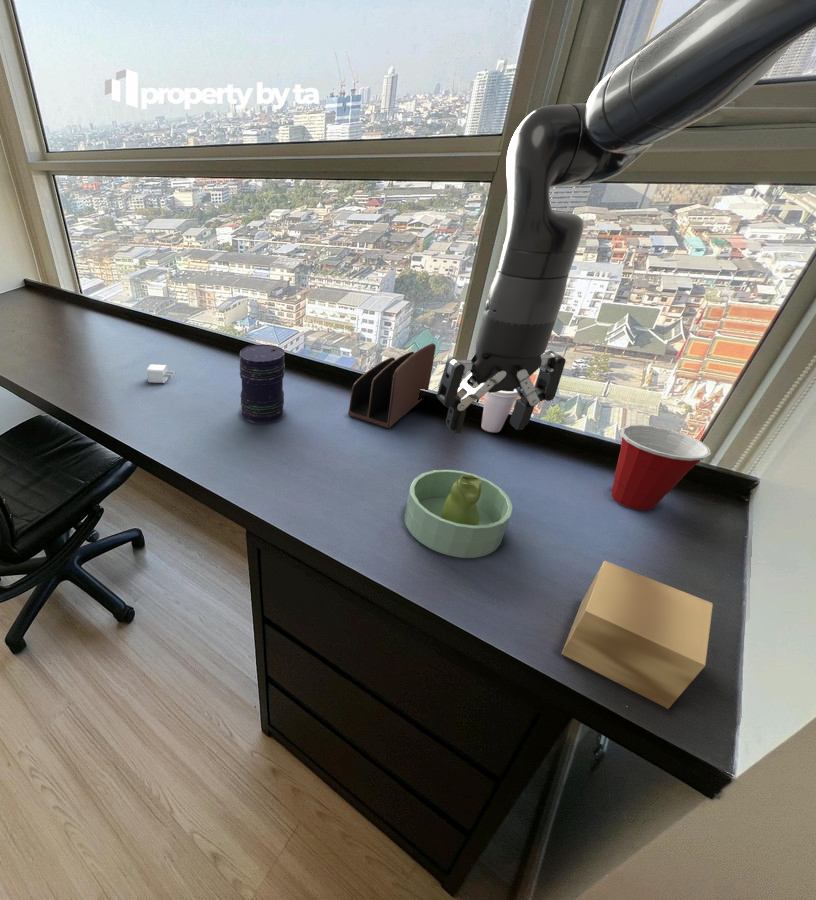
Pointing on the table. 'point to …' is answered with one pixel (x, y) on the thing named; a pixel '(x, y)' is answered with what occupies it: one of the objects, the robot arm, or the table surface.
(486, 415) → the smoothie
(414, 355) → the letter holder
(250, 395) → the dark blue canister
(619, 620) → the block
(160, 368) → the usb wall charger
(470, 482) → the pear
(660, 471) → the plastic cup
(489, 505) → the pot
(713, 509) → the table surface
